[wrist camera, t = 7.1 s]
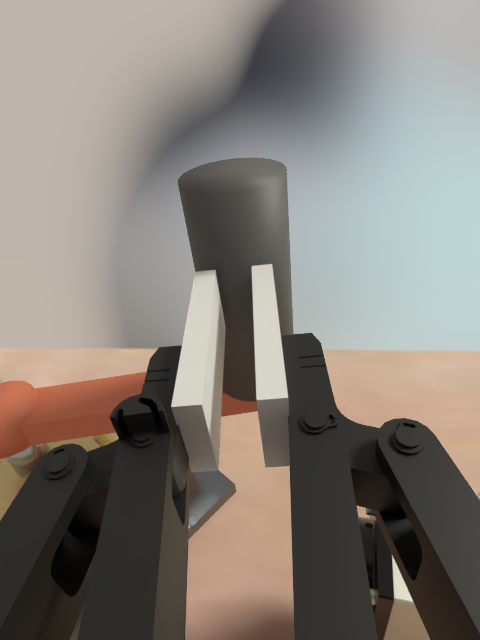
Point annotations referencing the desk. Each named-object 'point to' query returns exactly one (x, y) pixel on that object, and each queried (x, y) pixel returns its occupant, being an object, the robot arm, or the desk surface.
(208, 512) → the valve assembly
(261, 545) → the desk surface
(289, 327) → the valve lever
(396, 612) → the pneumatic valve
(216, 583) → the desk surface
